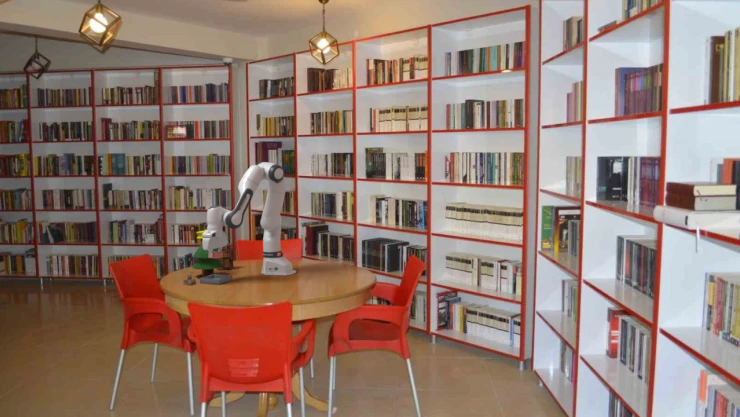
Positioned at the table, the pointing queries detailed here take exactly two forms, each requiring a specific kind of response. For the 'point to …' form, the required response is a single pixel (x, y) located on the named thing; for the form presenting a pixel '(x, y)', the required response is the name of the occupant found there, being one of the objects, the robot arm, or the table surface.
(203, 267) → the decorative tree
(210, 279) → the tray
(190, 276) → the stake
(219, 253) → the ring
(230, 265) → the wooden figurine
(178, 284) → the table surface
